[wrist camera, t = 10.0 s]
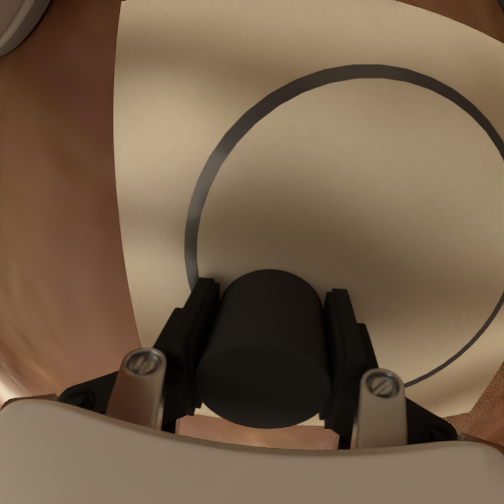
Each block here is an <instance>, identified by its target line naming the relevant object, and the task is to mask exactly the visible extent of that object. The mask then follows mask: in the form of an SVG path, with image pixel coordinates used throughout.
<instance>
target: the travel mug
mask: <svg viewBox="0 0 504 504" xmlns="http://www.w3.org/2000/svg"><path fill="white" fill-rule="evenodd" d="M49 2H50V0H0V56H3V55H5V54H7V53H9V52H10V51H11V50H13V49H14V48H16V47H17V46H18V45H19V44H20V43H21V42H22V41H23V40H24V39H25V38H26V37H27V35H28V34H29V33H30V32H31V31H32V29H33V28H34V27H35V25H36V24H37V23H38V21H39V19H40V18H41V16H42V15H43V13H44V12H45V10H46V8H47V6H48V4H49Z"/></svg>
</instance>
